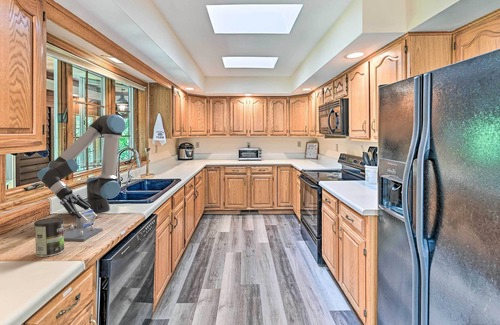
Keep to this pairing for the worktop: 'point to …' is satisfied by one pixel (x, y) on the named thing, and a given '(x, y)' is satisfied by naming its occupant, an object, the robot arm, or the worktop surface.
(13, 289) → the worktop surface
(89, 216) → the medicine box
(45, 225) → the coffee can
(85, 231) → the pin tray
